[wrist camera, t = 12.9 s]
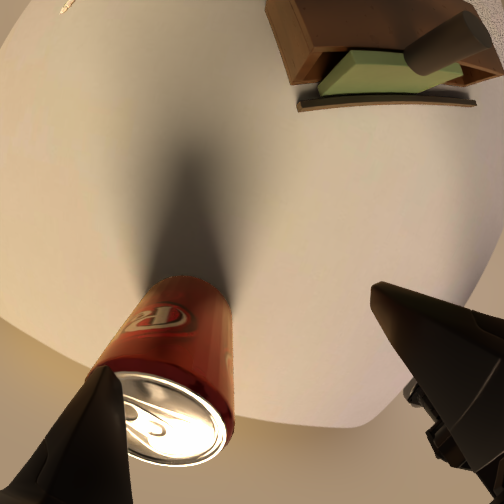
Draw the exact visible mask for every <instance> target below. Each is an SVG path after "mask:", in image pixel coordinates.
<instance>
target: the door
mask: <svg viewBox="0 0 504 504" xmlns="http://www.w3.org/2000/svg"><path fill="white" fill-rule="evenodd" d="M491 47H492V40H491V37H490V34H489V32H488V30H487V29H486V27H485V26H484V24H483V23H482V22H481V21H480V20H479V19H478V18H477V17H476V16H475V15H474V14H473V13H471V12H470V11H467V10H463V11H461V12H460V13H458V14H456V15H455V16H453V17H451V18H450V19H448V20H447V21H445V22H443V23H442V24H440V25H439V26H437V27H435V28H434V29H432V30H431V31H429V32H428V33H426V34H425V35H423V36H422V37H420V38H419V39H417V40H416V41H414V42H413V43H411V44H410V45H408V46H407V47H406V48H405V49H404V52H403V53H393V52H382V51H364V50H350V51H349V52H348V53H347V54H346V56H345V57H344V58H343V59H342V60H341V61H340V62H339V63H338V64H337V65H336V66H335V67H334V68H333V70H332V71H331V72H330V73H329V74H328V75H327V76H326V77H325V78H324V79H323V81H322V82H321V83H320V84H319V85H318V86H317V87H318V91H319V94H320V97H331V96H344V95H361V94H417V93H420V92H422V91H425V90H427V89H429V88H432V87H434V86H437V85H439V84H442V83H444V82H447V81H449V80H452V79H454V78H457V77H460V76H462V75H463V72H462V69H461V67H460V64H459V63H456V62H458V61H460V60H463V59H465V58H467V57H470V56H472V55H474V54H477V53H479V52H482V51H484V50H487V49H489V48H491Z"/></svg>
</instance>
